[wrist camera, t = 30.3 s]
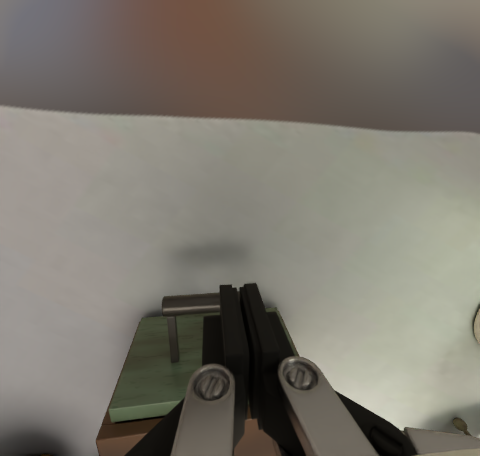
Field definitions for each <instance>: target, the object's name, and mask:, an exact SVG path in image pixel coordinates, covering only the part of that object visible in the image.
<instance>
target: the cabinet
mask: <svg viewBox="0 0 480 456" xmlns="http://www.w3.org/2000/svg"><path fill="white" fill-rule="evenodd" d="M278 312H279V311H278ZM279 314H280V313H279ZM280 316H281V315H280ZM281 318H282V317H281ZM282 321H283V319H282ZM283 323H284V321H283ZM139 325H140V322H139V324H138V327H139ZM284 325H285V324H284ZM138 327H137V330H138ZM285 327H286V326H285ZM137 330H136V333H137ZM286 330H287V328H286ZM287 332H288V330H287ZM136 333H135V336H136ZM288 334H289V332H288ZM135 336H134V338H135ZM289 336H290V335H289ZM134 338H133V341H134ZM290 338H291V337H290ZM133 341H132V344H133ZM291 341H292V339H291ZM292 343H293V341H292ZM132 344H131V346H130V349H131V347H132ZM293 345H294V343H293ZM294 347H295V345H294ZM130 349H129V352H130ZM295 350H296V348H295ZM129 352H128V355H129ZM296 352H297V350H296ZM297 354H298V352H297ZM128 355H127V357H126V360H127V358H128ZM298 356H299V354H298ZM299 357H300V356H299ZM126 360H125V363H126ZM125 363H124V365H123V368H122V371H123V369H124V366H125ZM122 371H121V374H122ZM121 374H120V376H119V379H118V382H119V380H120V377H121ZM118 382H117V384H116V387H115V390H114V393H115V391H116V388H117V385H118ZM114 393H113V395H112V398H111V401H110V403H109V406H108V409H107V412H106V414H105V417H104V420H103V422H102V426H101V428H100V430H99V433H98V436H97V438H96V444H97V448H98V452H99V456H124V455H125V454H126V453H127V452H129V451H130V450H131V449H132V448H133V447H134V446H135V445H136V444H137V443H138V442H139V441H140V440H141V439H142V438H143V437H144V436H145V435H146V434H147V433H148V432H149V431H150V430H151V429H152V428H153V427H154V426H155V425H156V424H158V423H159V422H160V421H161V420H162V419H163V418H156V419H149V420H141V421H133V422H131V420H126V421H119V422H111V418H110V414H109V407H110V404H111V402H112V399H113V396H114ZM234 456H276V453H275V450H274V447H273V443H272V438H271V437H270V436H268V435H267V434H266V433H265V432H263V430H259V429H258V423H257V419H251V414H250V408H249V406H248V415H247V420H245V432H244V435H243V437H242V438H241V440H240V441H239V443H238V444H237V445H236V447H235V448H234Z"/></svg>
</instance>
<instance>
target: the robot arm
mask: <svg viewBox="0 0 480 456" xmlns="http://www.w3.org/2000/svg"><path fill="white" fill-rule="evenodd" d="M474 333H475V337H476V339H477V341H478V343H480V309H479V311H478V313H477V315H476V319H475V323H474ZM248 401H249V408H250V414H251V419H257V423H258V429H259V430H263V432H265V433H266V434H267V435H268V436H270V437H271V438H272V443H273V447H274V450H275V453H276V456H480V439H479V438H476V437H473V436H469V435H462V434H454V433H447V432H439V431H431V430H424V429H416V428H409V427H405V428H404V431H401V430H399V429H398V428H397V427H395V426H394V425H393V424H391V423H390V422H388V421H386V420H385V419H383V418H381V417H380V416H378V415H376V414H374V413H373V412H371V411H369V410H368V409H366V408H364V407H362V406H361V405H359V404H357V403H355V402H354V401H352V400H350V399H349V398H347V397H345V396H343V395H342V394H340V393H338V392H337V391H335V390H334V389H333V388H332V386H331V385H330V384H329V382H328V381H327V379H326V378H325V376H324V375H323V373H322V372H321V370H320V369H319V368H318V367H317V366H316V365H315V364H314V363H313V362H311V361H310V360H308V359H306V358H303V357H298V356H295V354H294V352H293V350H292V347H291V345H290V342H289V340H288V338H287V335H286V333H285V330H284V328H283V326H282V323H281V321H280V319H279V316H278V314H277V312H276V311H271V312H266V309H265V307H264V304H263V301H262V298H261V295H260V293H259V290H258V287H257V284H256V283H252V284H244V287H240V290H239V298H238V293H237V288H232V285H220V315H210V316H203V345H202V367H200V368H199V369H197V370H196V371H195V372H194V373H193V375H192V376H191V378H190V380H189V383H188V387H187V391H186V395H185V397H184V398H183V399H182V400H181V401H180V402H179V403H178V404H177V405H176V406H175V407H174V408H173V409H172V410H171V411H170V412H169V413H168V414H167V415H166V416H165V417H164V418H163V419H162V420H161V421H160V422H159V423H158V424H156V425H155V426H154V427H153V428H152V429H151V430H150V431H149V432H148V433H147V434H146V435H145V436H144V437H143V438H142V439H141V440H140V441H139V442H138V443H137V444H136V445H135V446H134V447H133V448H132V449H131V450H130V451H129V452H127V453H126V454H125V455H124V456H234V448H235V447H236V445H237V444H238V443H239V441H240V440H241V438H242V437H243V435H244V432H245V420H247V415H248Z"/></svg>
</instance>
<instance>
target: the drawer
mask: <svg viewBox="0 0 480 456" xmlns="http://www.w3.org/2000/svg"><path fill="white" fill-rule="evenodd" d="M237 293H238V298H239V291H237ZM265 309H266V312H271V311H276V312H277V314H278V316H279V319H280V321H281V323H282V326H283V328H284V330H285V333H286V335H287V338H288V340H289V342H290V345H291V347H292V350H293V352H294V354H295V356H298V354H297V352H296V350H295V347H294V345H293V343H292V341H291V338H290V336H289V334H288V332H287V330H286V327H285V325H284V323H283V321H282V318H281V316H280V314H279V312H278V310H277V308H276V307H275V308H265ZM162 314H163V316H159V317H146V318H142V319H141V322H140V325H139V327H138V330H137V333H136V336H135V338H134V341H133V344H132V347H131V349H130V352H129V355H128V358H127V360H126V363H125V366H124V369H123V371H122V374H121V377H120V380H119V382H118V385H117V388H116V391H115V393H114V396H113V399H112V402H111V404H110V407H109V414H110V418H111V422H119V421H126V420H131V422H133V421H141V420H149V419H156V418H164V417H165V416H166V415H167V414H168V413H169V412H170V411H171V410H172V409H173V408H174V407H175V406H176V405H177V404H178V403H179V402H180V401H181V400H182V399H183V398H184V397H185V395H186V391H187V387H188V383H189V380H190V378H191V376H192V375H193V373H194V372H195V371H196V370H197V369H199V368H200V367H202V345H203V316H210V315H220V293H207V294H192V295H177V296H164V297H163V300H162ZM298 357H299V356H298ZM248 406H249V401H248Z"/></svg>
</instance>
